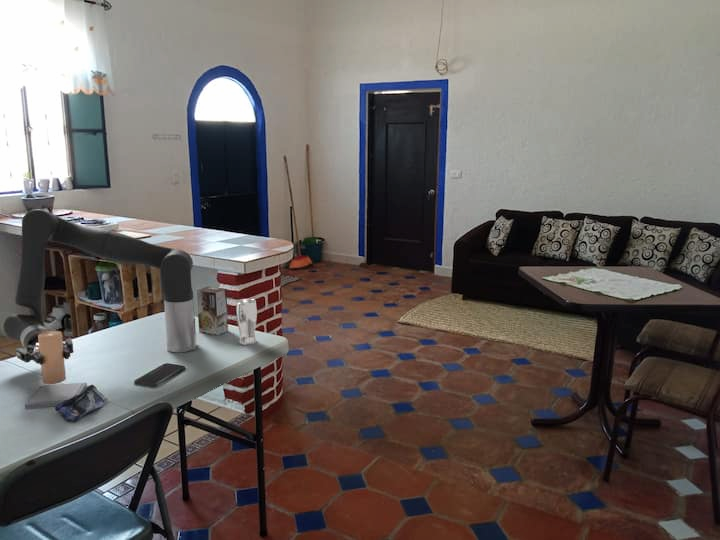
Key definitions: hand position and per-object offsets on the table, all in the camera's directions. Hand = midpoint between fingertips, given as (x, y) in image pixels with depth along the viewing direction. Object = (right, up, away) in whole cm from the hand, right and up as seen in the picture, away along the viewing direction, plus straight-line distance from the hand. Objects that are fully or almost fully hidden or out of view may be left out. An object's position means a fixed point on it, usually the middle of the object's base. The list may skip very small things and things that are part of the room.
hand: (54, 358), depth 145 cm
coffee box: (+26, 0, +59) cm, 65 cm away
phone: (+21, -9, +19) cm, 30 cm away
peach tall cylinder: (-2, -6, +3) cm, 7 cm away
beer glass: (+41, -2, +49) cm, 64 cm away
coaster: (-2, -11, +4) cm, 12 cm away
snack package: (+9, -14, -3) cm, 17 cm away
